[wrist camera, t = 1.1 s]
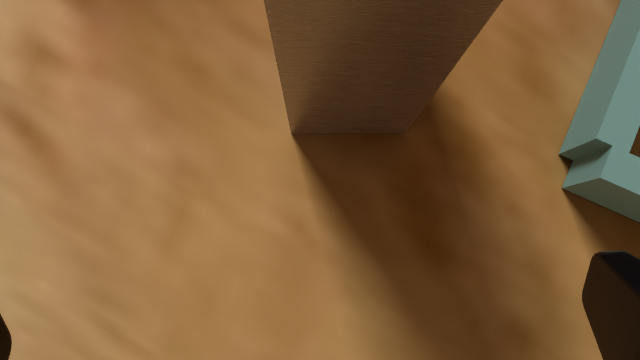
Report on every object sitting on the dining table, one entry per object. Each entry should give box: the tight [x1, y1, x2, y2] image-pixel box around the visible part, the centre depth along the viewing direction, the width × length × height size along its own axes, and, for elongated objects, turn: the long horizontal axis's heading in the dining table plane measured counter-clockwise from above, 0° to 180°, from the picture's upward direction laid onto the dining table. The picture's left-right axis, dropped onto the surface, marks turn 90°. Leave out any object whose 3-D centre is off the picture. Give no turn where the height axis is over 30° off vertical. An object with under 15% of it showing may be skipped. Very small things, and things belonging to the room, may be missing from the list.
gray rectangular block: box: [264, 0, 503, 134], centre depth 16 cm, size 4×4×13 cm
